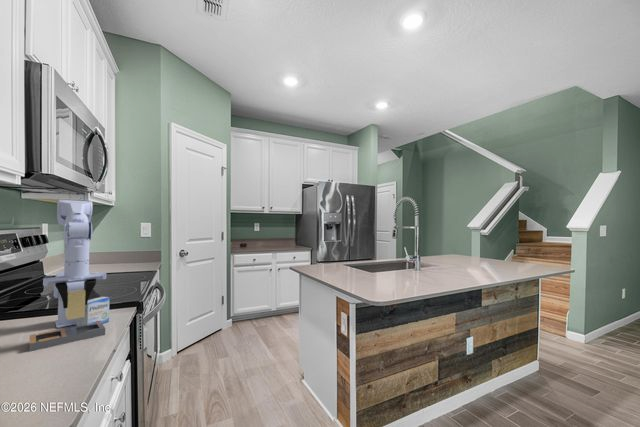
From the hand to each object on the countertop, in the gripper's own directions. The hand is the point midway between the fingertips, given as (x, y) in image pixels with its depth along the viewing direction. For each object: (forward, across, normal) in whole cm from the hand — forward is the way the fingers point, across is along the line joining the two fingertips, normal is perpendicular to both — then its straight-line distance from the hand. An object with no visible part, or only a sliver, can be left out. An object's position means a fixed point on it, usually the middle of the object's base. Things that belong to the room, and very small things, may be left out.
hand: (75, 306), depth 86 cm
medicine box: (+10, +6, +10) cm, 15 cm away
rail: (+9, -1, 0) cm, 9 cm away
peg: (+3, 0, 0) cm, 3 cm away
